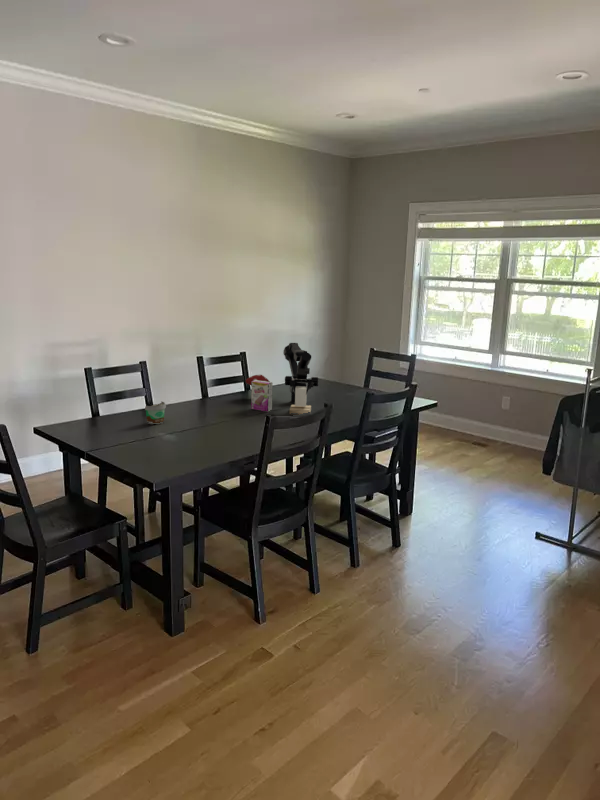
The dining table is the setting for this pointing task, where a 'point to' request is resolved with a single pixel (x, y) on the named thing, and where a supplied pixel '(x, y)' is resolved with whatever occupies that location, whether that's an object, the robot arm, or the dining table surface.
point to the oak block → (300, 409)
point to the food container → (155, 413)
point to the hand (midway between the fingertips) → (300, 394)
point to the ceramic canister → (300, 396)
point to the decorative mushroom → (256, 377)
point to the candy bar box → (261, 395)
